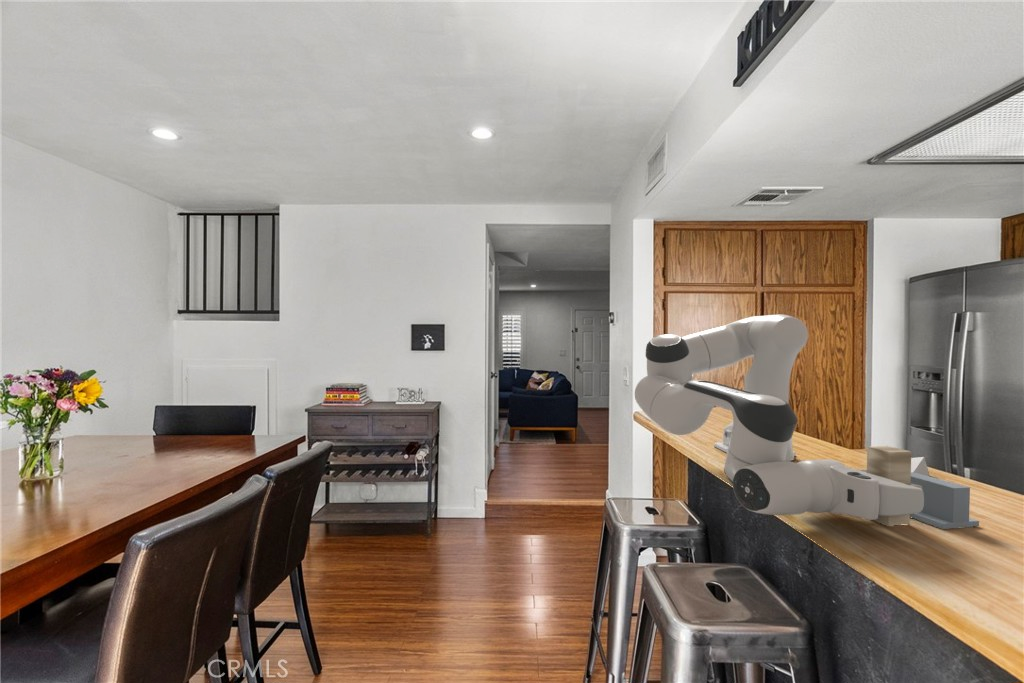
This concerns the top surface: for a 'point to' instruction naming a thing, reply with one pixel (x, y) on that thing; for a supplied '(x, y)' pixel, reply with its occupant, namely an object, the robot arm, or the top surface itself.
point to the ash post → (890, 473)
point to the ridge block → (943, 503)
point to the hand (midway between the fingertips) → (892, 481)
